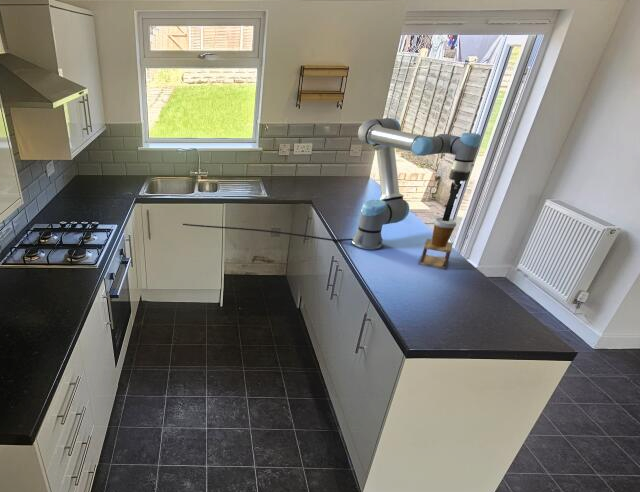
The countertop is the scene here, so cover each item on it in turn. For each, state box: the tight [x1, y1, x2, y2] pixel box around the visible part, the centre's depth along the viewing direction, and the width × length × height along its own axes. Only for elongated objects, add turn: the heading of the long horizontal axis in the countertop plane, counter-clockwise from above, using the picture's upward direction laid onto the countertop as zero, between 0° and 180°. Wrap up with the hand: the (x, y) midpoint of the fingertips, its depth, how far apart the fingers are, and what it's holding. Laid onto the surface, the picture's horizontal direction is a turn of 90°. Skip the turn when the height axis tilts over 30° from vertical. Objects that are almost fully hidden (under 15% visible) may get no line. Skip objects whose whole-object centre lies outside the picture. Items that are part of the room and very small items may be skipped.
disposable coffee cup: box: [431, 217, 457, 247], centre depth 207 cm, size 10×10×12 cm
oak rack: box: [419, 238, 454, 270], centre depth 213 cm, size 12×12×10 cm
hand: (446, 216), depth 203 cm, fingers open, 13 cm apart
